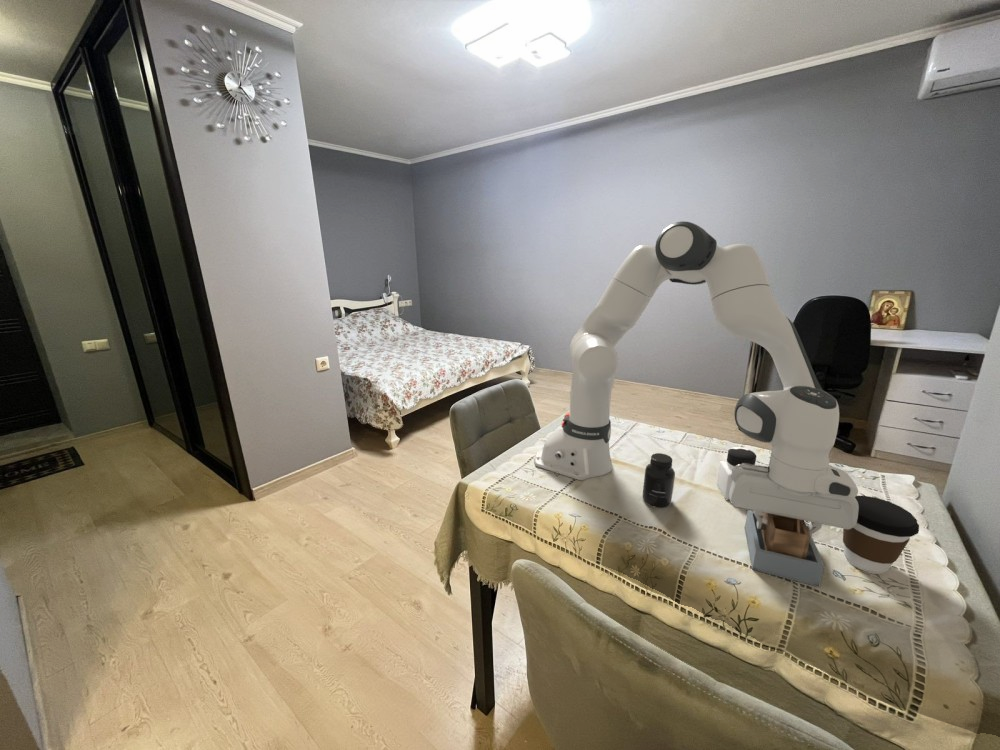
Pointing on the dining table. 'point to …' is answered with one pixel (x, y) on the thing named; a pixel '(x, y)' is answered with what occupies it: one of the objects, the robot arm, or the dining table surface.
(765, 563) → the grey crate
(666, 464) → the supplement bottle
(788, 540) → the walnut crate
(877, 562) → the coffee cup
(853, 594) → the dining table surface
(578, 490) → the dining table surface
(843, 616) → the dining table surface
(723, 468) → the medicine bottle
